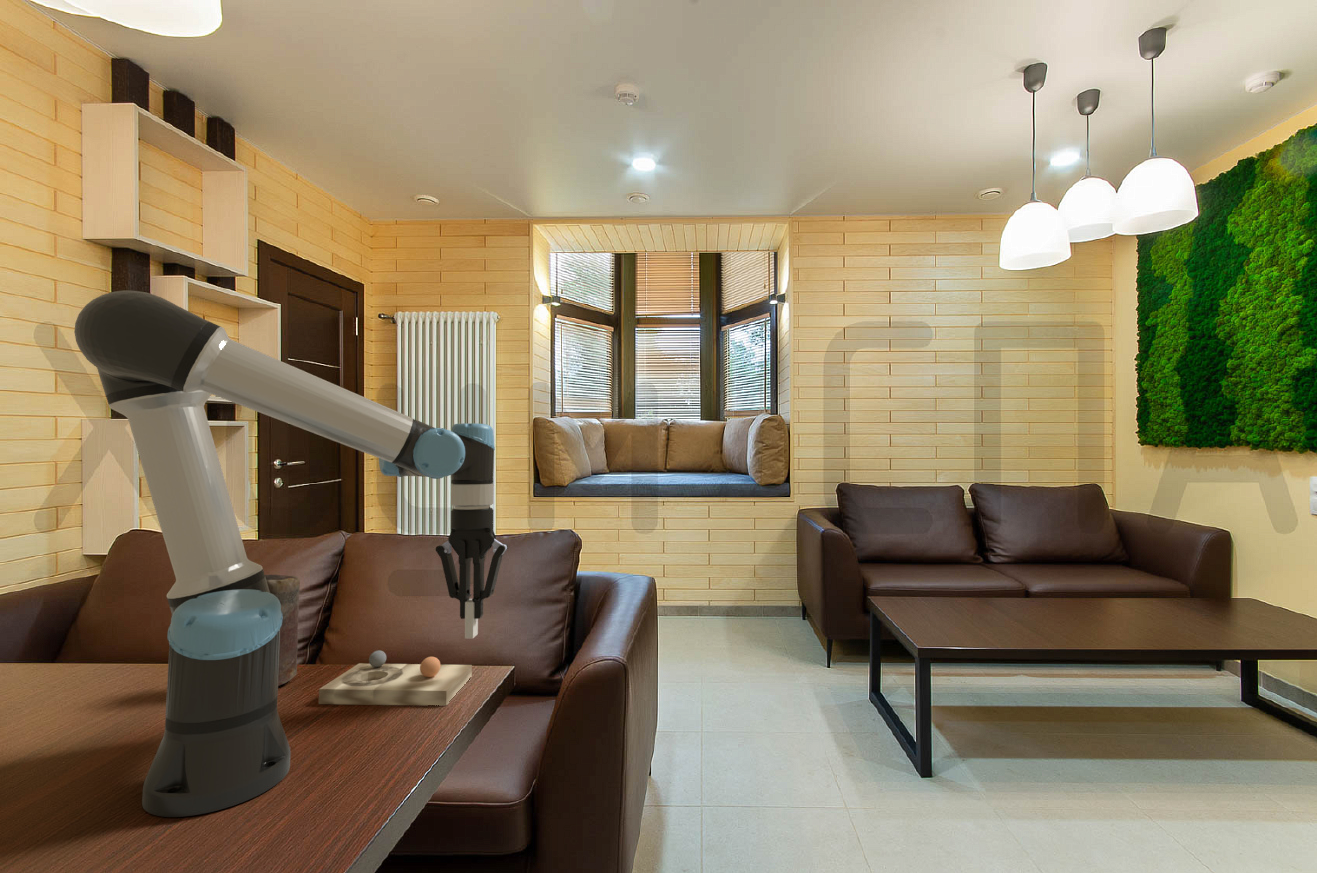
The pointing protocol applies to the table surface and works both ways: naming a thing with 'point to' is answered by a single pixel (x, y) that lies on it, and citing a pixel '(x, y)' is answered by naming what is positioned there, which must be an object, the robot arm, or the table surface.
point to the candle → (287, 622)
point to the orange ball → (430, 666)
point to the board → (395, 685)
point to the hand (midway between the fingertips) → (471, 636)
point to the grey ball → (377, 658)
